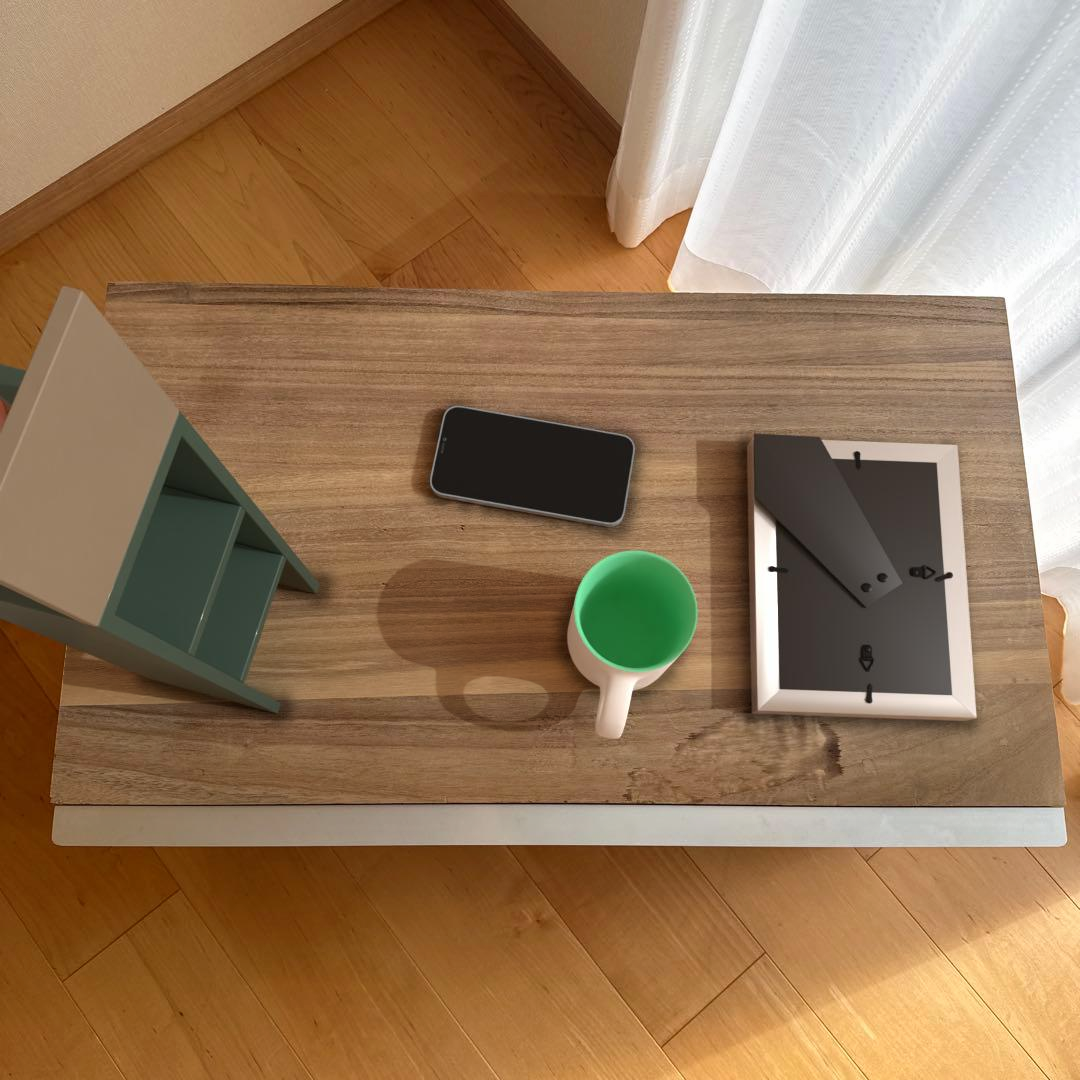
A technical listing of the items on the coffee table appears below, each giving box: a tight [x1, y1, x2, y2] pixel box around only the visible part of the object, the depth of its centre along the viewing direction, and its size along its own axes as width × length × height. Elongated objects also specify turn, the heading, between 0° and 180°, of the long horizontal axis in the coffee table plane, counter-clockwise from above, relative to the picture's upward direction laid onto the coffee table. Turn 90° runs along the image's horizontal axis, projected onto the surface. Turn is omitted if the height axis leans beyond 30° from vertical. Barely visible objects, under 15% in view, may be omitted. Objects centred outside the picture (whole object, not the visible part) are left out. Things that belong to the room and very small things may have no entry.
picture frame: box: [746, 433, 978, 722], centre depth 81 cm, size 16×3×21 cm
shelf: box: [0, 285, 321, 715], centre depth 58 cm, size 10×10×46 cm
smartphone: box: [429, 405, 636, 528], centre depth 84 cm, size 7×1×15 cm
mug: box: [566, 550, 699, 740], centre depth 75 cm, size 12×8×10 cm, turn 172°
